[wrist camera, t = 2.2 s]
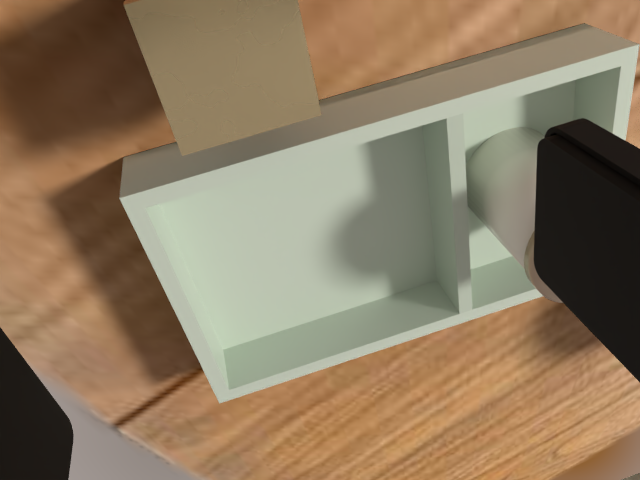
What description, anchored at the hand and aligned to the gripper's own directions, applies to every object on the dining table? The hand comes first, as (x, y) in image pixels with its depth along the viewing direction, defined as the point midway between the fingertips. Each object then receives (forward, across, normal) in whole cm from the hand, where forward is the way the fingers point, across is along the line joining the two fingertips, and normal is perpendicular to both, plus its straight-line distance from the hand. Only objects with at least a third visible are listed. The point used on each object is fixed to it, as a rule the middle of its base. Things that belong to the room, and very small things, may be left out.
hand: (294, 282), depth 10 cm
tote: (+18, -7, +12) cm, 23 cm away
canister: (+18, -14, +12) cm, 25 cm away
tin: (+18, -1, 0) cm, 19 cm away
